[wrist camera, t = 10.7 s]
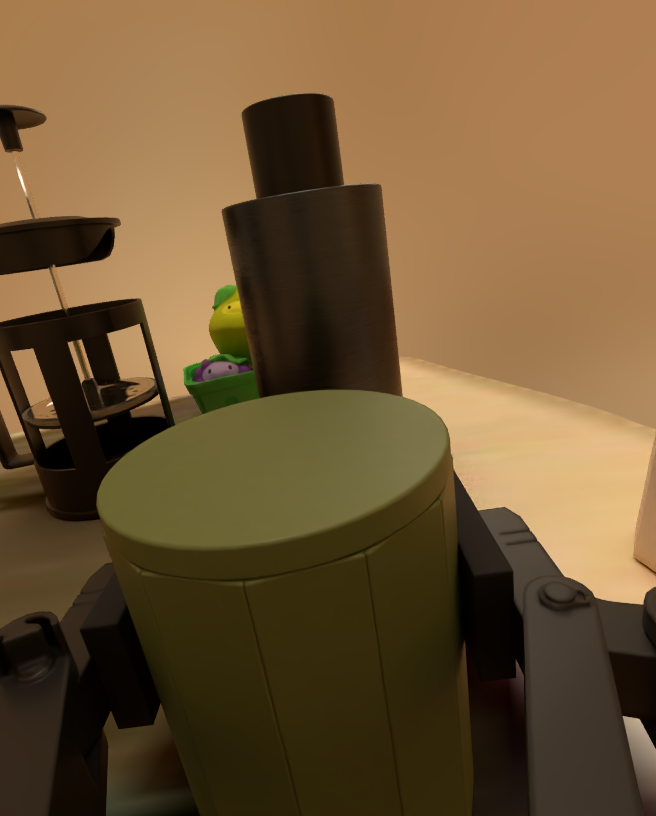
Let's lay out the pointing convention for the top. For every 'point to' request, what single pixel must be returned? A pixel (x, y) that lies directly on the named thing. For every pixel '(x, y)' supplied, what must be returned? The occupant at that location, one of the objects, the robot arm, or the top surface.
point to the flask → (311, 258)
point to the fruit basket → (224, 359)
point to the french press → (48, 335)
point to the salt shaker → (647, 518)
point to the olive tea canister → (301, 603)
